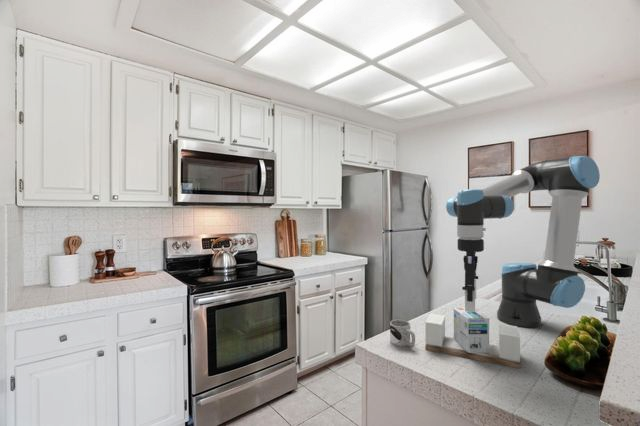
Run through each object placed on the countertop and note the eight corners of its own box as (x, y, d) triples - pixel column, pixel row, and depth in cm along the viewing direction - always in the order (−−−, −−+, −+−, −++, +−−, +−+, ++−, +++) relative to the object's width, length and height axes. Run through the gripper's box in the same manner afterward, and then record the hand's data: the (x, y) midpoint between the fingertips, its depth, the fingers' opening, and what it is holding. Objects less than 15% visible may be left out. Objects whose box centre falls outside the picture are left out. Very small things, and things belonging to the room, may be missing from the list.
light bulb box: (490, 353, 94) (490, 318, 94) (468, 353, 94) (468, 318, 94) (472, 338, 105) (472, 306, 104) (452, 338, 105) (452, 306, 104)
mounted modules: (517, 348, 97) (517, 326, 97) (519, 361, 89) (520, 337, 89) (429, 333, 109) (429, 313, 109) (425, 343, 101) (425, 322, 101)
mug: (386, 340, 108) (386, 321, 108) (400, 336, 111) (400, 318, 111) (406, 352, 99) (406, 332, 99) (422, 348, 102) (421, 328, 102)
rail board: (516, 353, 97) (516, 347, 97) (520, 368, 89) (520, 362, 89) (430, 337, 110) (430, 332, 110) (425, 349, 101) (425, 343, 101)
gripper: (483, 243, 86) (484, 319, 86) (483, 234, 108) (484, 295, 108) (454, 242, 89) (454, 315, 90) (460, 234, 111) (460, 292, 112)
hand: (471, 304), depth 99 cm, fingers open, 13 cm apart
